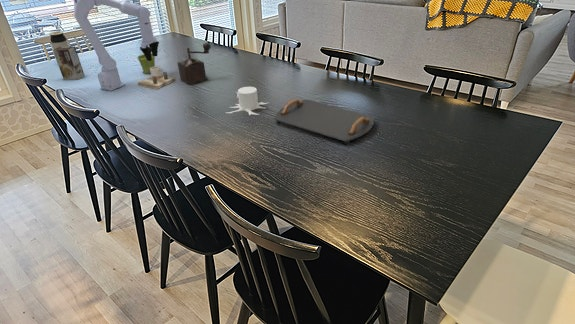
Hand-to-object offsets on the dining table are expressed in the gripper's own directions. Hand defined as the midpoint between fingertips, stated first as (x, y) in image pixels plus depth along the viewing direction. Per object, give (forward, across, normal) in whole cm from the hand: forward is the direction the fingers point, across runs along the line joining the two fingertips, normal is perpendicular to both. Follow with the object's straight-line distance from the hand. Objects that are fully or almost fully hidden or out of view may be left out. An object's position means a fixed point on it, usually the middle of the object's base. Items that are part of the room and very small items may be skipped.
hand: (152, 58), depth 198 cm
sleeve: (+8, -5, -3) cm, 10 cm away
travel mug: (+10, +23, +66) cm, 71 cm away
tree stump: (+10, -38, -57) cm, 69 cm away
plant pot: (+10, +8, +7) cm, 15 cm away
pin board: (+10, -10, -4) cm, 14 cm away
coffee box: (+10, -2, +46) cm, 47 cm away
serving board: (+10, -52, -90) cm, 105 cm away
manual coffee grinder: (+10, -3, -24) cm, 26 cm away
